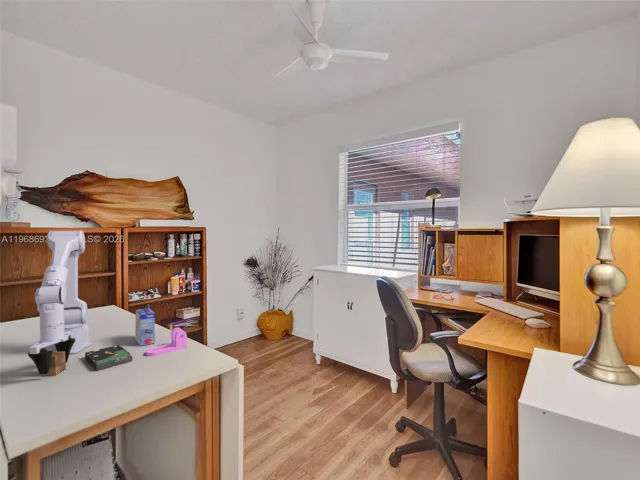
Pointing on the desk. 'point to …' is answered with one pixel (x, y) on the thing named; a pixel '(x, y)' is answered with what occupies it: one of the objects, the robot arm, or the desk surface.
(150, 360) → the desk surface
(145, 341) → the ink cartridge box
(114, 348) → the disk drive
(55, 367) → the walnut block
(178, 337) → the bracket
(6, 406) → the desk surface
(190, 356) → the desk surface
